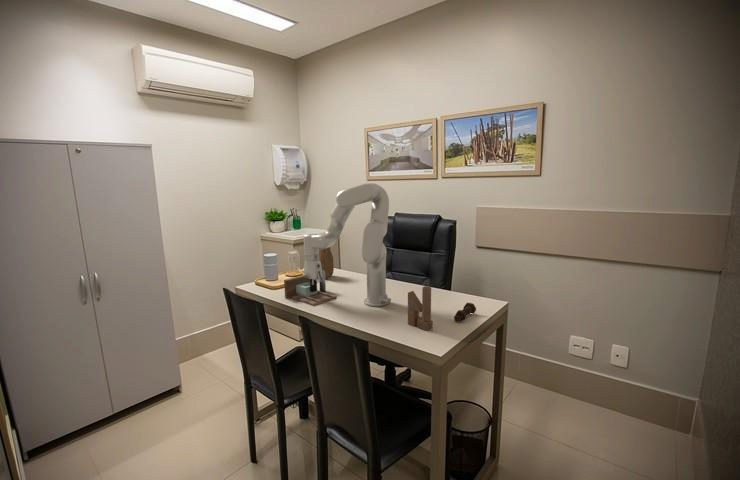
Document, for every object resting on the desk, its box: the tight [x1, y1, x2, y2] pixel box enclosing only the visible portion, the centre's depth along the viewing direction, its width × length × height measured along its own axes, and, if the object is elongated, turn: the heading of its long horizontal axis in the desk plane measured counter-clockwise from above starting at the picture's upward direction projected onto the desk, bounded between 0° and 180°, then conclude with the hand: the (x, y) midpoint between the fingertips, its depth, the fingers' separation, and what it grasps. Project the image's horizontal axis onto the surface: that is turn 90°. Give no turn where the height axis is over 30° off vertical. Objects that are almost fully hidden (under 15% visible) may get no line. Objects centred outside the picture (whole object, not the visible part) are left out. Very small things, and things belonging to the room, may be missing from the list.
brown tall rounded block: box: [319, 246, 335, 280], centre depth 231 cm, size 11×8×20 cm
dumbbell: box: [453, 302, 477, 323], centre depth 160 cm, size 6×5×15 cm
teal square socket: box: [296, 282, 317, 296], centre depth 194 cm, size 8×8×5 cm
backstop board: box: [283, 274, 338, 307], centre depth 191 cm, size 24×20×10 cm
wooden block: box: [407, 285, 434, 332], centre depth 150 cm, size 4×11×18 cm, turn 44°
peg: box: [318, 270, 327, 293], centre depth 201 cm, size 3×3×12 cm
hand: (313, 291), depth 190 cm, fingers closed
